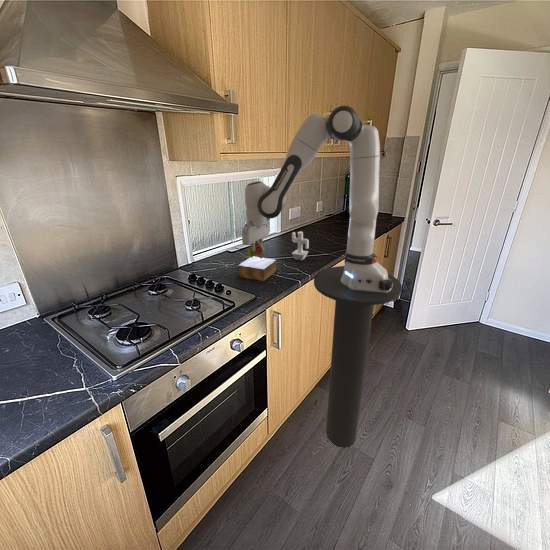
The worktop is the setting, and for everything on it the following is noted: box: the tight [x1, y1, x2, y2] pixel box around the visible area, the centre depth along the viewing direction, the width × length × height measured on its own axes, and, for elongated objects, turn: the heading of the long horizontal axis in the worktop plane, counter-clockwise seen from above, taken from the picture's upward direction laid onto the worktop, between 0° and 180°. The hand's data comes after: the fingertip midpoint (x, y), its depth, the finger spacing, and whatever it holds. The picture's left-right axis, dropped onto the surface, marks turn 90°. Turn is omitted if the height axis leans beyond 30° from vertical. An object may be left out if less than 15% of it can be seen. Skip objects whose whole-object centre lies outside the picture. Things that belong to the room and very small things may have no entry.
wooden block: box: [237, 255, 277, 282], centre depth 141 cm, size 14×14×6 cm
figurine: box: [291, 231, 310, 261], centre depth 158 cm, size 7×9×15 cm
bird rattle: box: [246, 240, 266, 258], centre depth 137 cm, size 6×11×9 cm
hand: (257, 248), depth 137 cm, fingers closed on bird rattle, 4 cm apart
